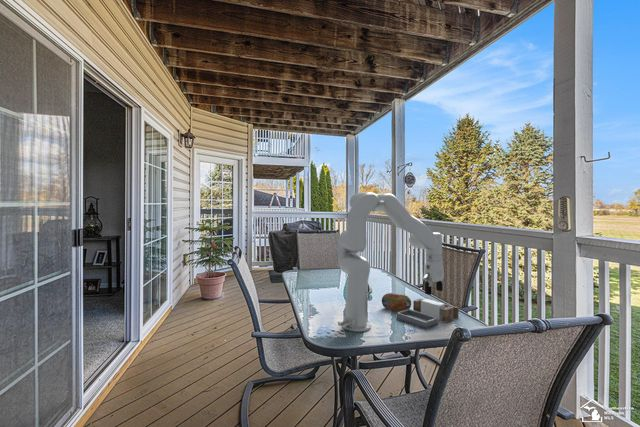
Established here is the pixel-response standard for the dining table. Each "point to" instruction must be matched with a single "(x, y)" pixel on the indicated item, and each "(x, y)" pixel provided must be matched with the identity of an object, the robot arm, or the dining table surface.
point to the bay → (447, 311)
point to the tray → (417, 318)
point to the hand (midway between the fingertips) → (433, 292)
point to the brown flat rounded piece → (396, 302)
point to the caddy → (432, 308)
